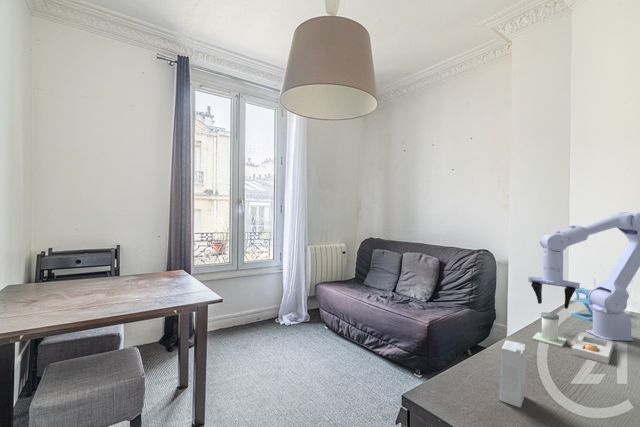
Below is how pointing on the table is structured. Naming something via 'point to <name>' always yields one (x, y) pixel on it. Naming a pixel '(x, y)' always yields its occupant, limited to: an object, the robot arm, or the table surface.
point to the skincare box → (512, 373)
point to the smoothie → (590, 290)
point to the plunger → (591, 347)
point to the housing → (601, 355)
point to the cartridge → (549, 326)
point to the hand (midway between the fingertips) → (552, 305)
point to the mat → (557, 343)
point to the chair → (586, 303)
